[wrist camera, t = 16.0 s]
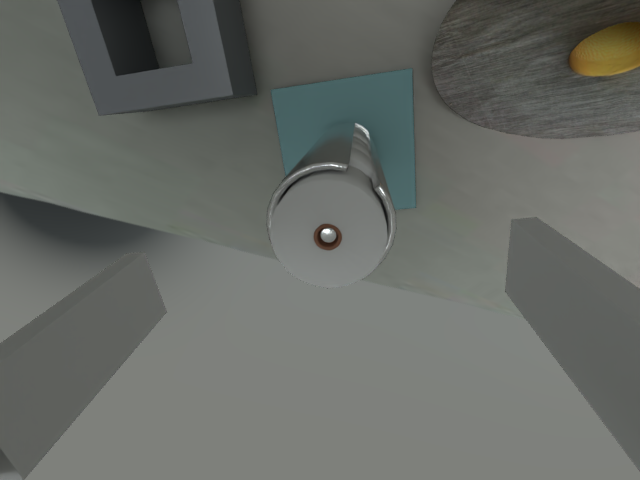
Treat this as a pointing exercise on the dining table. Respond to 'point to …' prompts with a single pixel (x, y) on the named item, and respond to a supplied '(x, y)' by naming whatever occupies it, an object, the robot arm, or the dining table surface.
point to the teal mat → (362, 108)
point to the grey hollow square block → (140, 61)
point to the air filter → (333, 210)
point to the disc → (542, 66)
